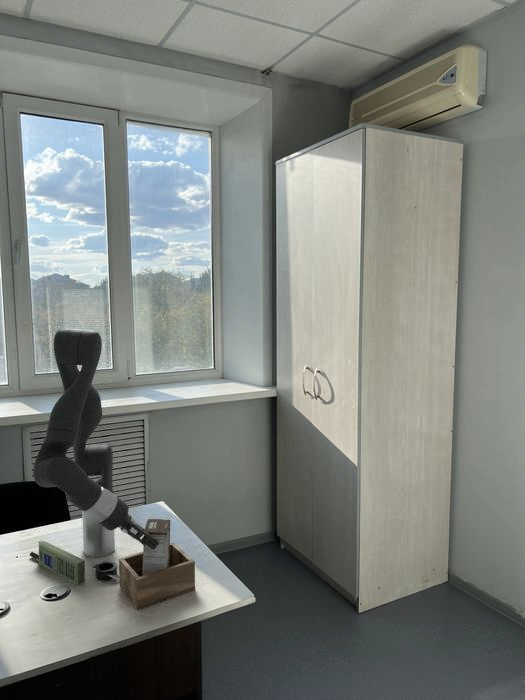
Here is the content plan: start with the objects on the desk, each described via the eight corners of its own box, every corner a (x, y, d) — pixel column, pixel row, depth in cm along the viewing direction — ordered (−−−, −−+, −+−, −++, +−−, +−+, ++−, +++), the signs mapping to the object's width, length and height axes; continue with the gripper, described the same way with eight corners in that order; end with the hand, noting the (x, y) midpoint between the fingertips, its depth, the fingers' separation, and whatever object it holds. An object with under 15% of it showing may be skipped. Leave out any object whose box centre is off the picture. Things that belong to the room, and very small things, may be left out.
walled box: (119, 586, 142) (118, 558, 141) (174, 569, 151) (173, 542, 150) (138, 610, 131) (137, 580, 130) (195, 589, 140) (194, 561, 139)
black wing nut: (91, 588, 141) (91, 577, 141) (92, 569, 151) (91, 560, 151) (121, 583, 144) (121, 573, 144) (119, 565, 153) (119, 556, 153)
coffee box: (145, 575, 145) (147, 518, 144) (169, 575, 145) (171, 518, 144) (140, 592, 136) (142, 531, 135) (165, 592, 136) (168, 532, 135)
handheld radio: (76, 587, 142) (26, 560, 156) (87, 582, 145) (36, 556, 159) (76, 563, 141) (25, 538, 156) (86, 559, 144) (36, 534, 159)
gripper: (125, 504, 126) (170, 537, 134) (105, 486, 138) (148, 518, 145) (104, 531, 124) (151, 563, 131) (86, 511, 135) (130, 541, 143)
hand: (149, 539), depth 138 cm, fingers open, 8 cm apart
